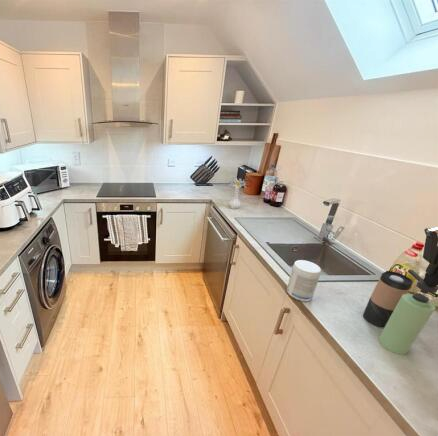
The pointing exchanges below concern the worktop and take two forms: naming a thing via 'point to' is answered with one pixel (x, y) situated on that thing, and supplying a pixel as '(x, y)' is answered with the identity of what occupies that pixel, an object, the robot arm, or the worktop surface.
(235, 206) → the flower vase
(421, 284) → the pump head
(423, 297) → the soap bottle
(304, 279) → the supplement tub
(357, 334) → the worktop surface
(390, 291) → the travel mug
